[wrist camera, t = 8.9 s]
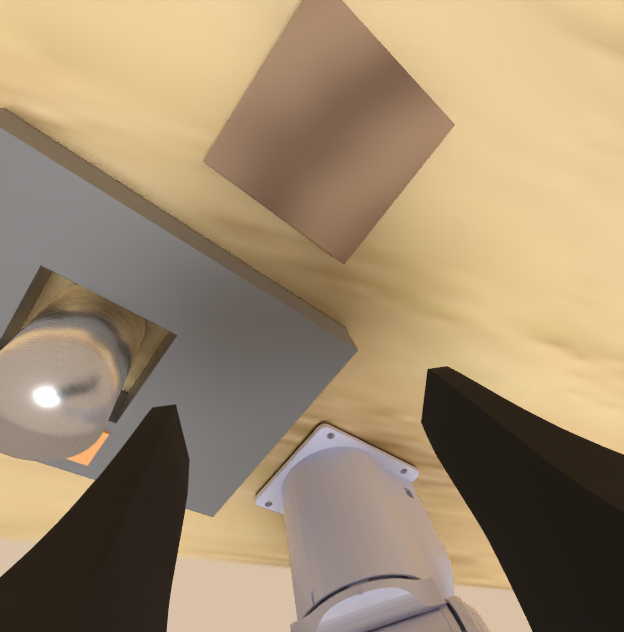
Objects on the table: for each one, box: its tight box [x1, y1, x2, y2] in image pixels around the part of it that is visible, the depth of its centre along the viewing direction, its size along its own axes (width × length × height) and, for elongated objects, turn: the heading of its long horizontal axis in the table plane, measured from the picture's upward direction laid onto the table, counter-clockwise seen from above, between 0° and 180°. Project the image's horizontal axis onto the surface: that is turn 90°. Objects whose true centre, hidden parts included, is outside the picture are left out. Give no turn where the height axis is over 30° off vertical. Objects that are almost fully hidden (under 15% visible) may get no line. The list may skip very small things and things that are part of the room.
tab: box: [203, 0, 455, 264], centre depth 17 cm, size 8×8×1 cm
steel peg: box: [0, 284, 146, 461], centre depth 16 cm, size 4×4×7 cm
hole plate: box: [0, 108, 358, 517], centre depth 19 cm, size 18×14×3 cm
